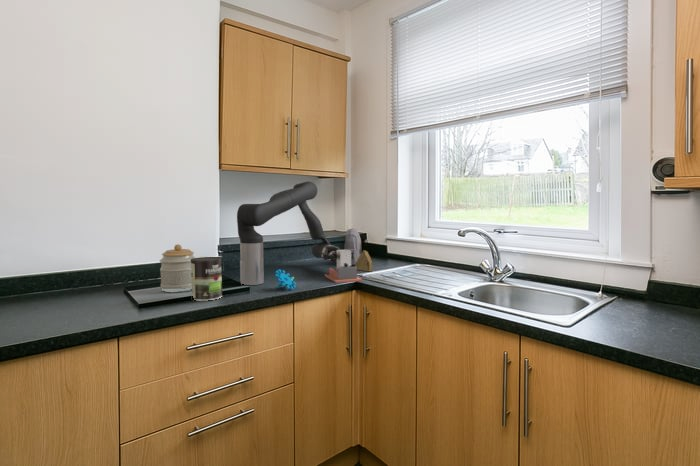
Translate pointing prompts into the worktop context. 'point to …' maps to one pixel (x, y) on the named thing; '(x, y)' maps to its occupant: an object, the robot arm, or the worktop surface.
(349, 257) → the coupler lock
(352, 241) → the small grey backpack
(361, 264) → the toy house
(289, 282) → the gear
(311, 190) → the robot arm
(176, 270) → the jar
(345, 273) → the coupler cradle
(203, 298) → the coffee can
